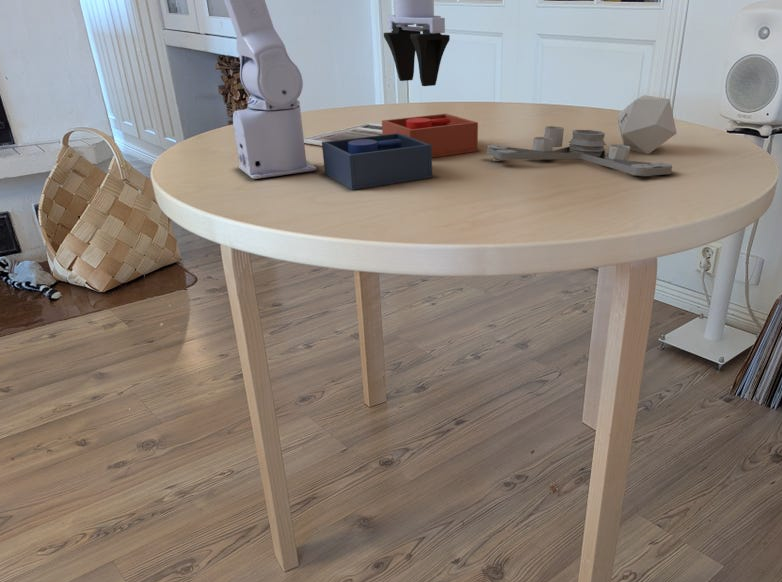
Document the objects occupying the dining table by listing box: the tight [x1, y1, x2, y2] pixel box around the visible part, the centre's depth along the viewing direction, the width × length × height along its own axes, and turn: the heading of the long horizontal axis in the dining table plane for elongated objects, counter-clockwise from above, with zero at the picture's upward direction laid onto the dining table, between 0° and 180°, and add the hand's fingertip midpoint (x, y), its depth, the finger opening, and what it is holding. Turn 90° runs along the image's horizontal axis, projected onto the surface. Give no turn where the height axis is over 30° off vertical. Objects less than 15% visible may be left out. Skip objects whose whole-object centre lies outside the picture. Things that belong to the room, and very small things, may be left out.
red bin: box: [381, 113, 479, 158], centre depth 108 cm, size 12×10×4 cm
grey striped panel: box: [304, 122, 383, 147], centre depth 118 cm, size 11×1×18 cm
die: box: [616, 94, 678, 155], centre depth 105 cm, size 8×9×10 cm
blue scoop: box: [348, 139, 401, 154], centre depth 93 cm, size 8×4×4 cm, turn 120°
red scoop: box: [406, 118, 451, 129], centre depth 108 cm, size 8×4×4 cm, turn 120°
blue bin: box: [321, 133, 433, 191], centre depth 93 cm, size 12×10×4 cm
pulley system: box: [486, 125, 673, 177], centre depth 99 cm, size 27×5×15 cm
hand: (417, 83), depth 103 cm, fingers open, 7 cm apart
